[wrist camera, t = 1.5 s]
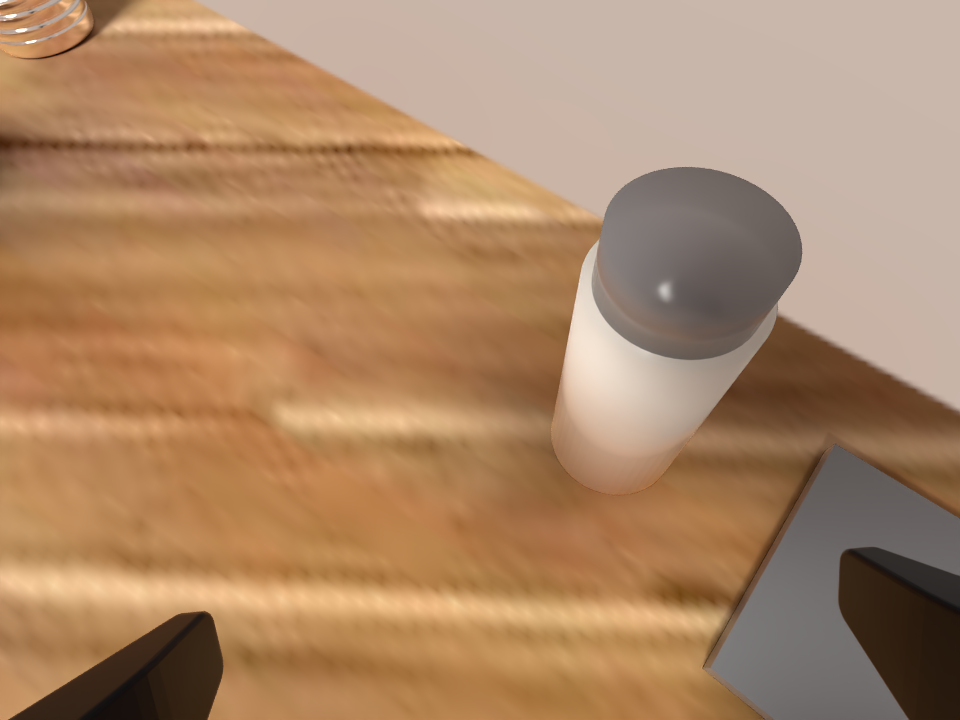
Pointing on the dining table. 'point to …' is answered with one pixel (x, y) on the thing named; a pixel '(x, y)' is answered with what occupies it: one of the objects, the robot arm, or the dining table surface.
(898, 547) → the slate board
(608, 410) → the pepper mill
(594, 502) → the dining table surface
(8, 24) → the water bottle
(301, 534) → the dining table surface
